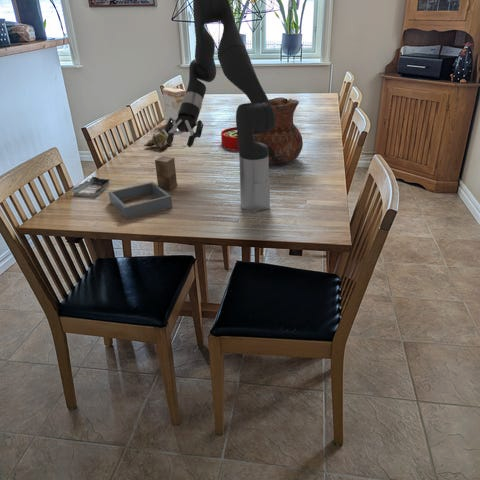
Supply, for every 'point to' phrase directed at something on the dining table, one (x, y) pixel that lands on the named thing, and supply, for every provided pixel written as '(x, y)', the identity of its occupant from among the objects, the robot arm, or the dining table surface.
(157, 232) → the dining table surface
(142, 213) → the box
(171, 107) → the coffeecake box
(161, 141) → the ceramic sculpture
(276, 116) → the jug
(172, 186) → the walnut block
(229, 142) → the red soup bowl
